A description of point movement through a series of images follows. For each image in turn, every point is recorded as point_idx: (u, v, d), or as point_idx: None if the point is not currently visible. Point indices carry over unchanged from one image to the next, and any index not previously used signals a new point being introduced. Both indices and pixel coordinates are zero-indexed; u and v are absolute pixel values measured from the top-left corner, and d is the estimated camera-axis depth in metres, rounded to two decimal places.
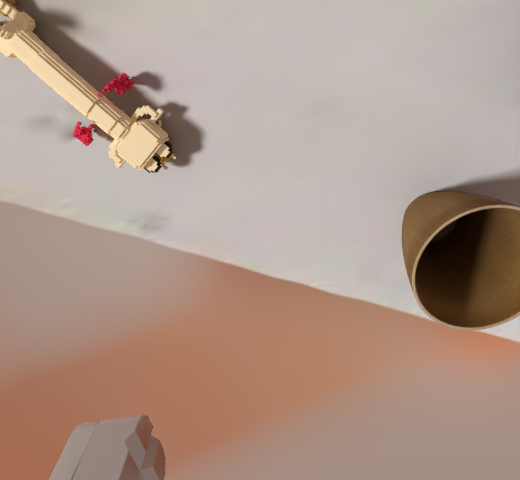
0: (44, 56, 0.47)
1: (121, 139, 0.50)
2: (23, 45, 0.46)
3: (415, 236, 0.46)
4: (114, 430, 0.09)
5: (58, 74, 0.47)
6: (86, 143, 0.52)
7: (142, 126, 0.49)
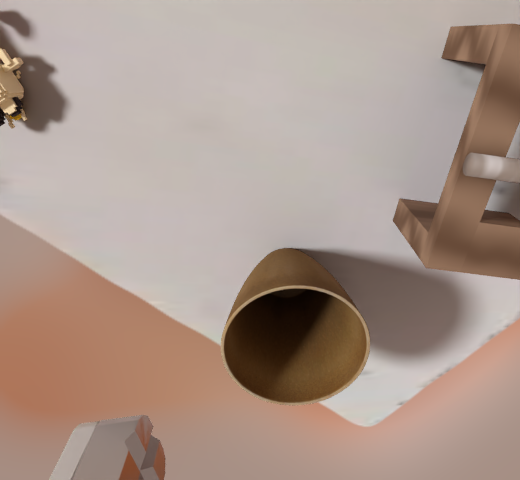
0: None
1: None
2: None
3: (243, 292, 0.43)
4: (114, 430, 0.09)
5: None
6: None
7: None
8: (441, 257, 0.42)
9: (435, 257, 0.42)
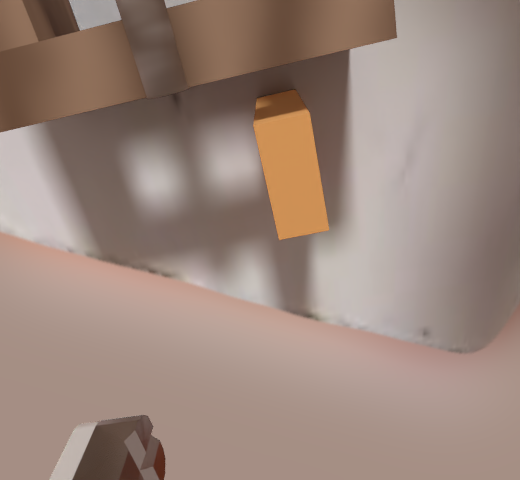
0: None
1: None
2: None
3: None
4: (114, 430, 0.09)
5: None
6: None
7: None
8: None
9: None
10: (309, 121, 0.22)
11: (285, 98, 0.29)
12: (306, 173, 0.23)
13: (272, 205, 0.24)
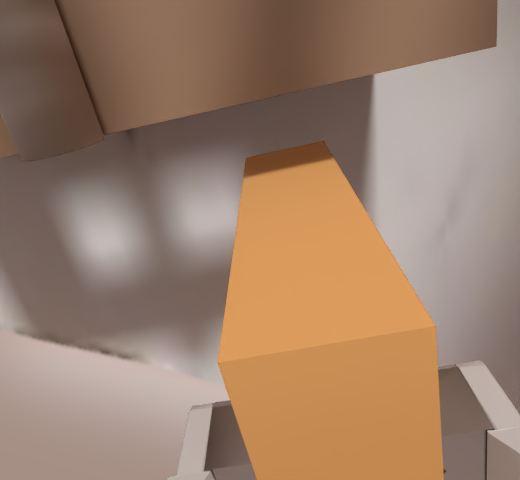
0: None
1: None
2: None
3: None
4: None
5: None
6: None
7: None
8: None
9: None
10: (430, 351, 0.06)
11: (309, 175, 0.13)
12: None
13: None
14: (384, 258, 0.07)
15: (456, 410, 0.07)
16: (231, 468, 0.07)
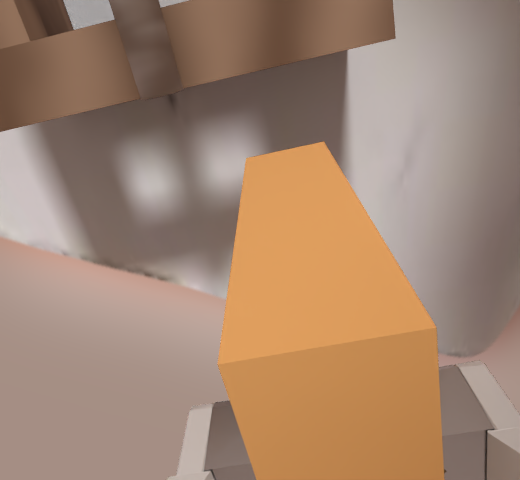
0: None
1: None
2: None
3: None
4: None
5: None
6: None
7: None
8: None
9: None
10: (431, 352, 0.06)
11: (309, 176, 0.13)
12: None
13: None
14: (384, 259, 0.07)
15: (456, 410, 0.07)
16: (231, 468, 0.07)
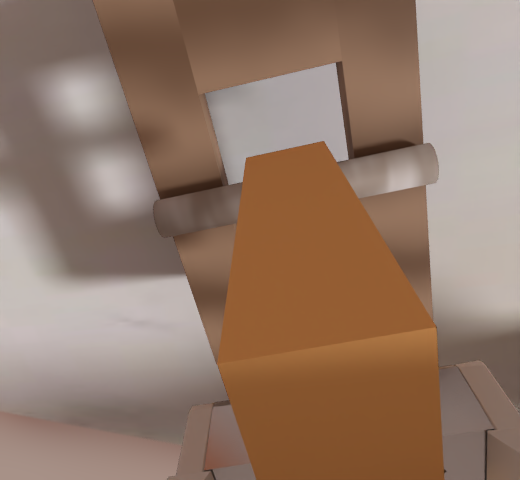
0: None
1: None
2: None
3: None
4: None
5: None
6: None
7: None
8: None
9: None
10: (431, 352, 0.06)
11: (309, 175, 0.13)
12: None
13: None
14: (384, 259, 0.07)
15: (456, 410, 0.07)
16: (231, 468, 0.07)
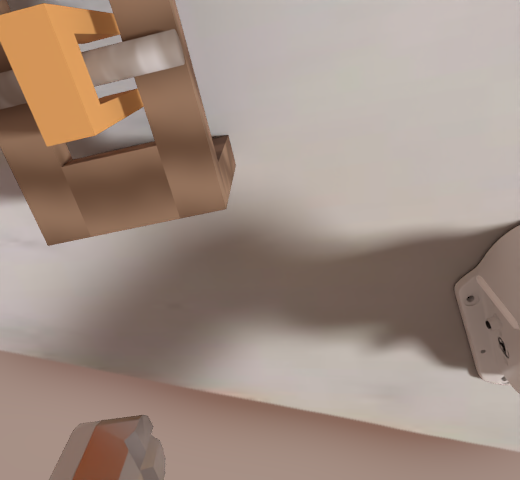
0: None
1: None
2: None
3: None
4: (114, 430, 0.09)
5: None
6: None
7: None
8: None
9: None
10: (45, 12, 0.22)
11: None
12: (57, 71, 0.23)
13: (30, 107, 0.24)
14: None
15: None
16: None
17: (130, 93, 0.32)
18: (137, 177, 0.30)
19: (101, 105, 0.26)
